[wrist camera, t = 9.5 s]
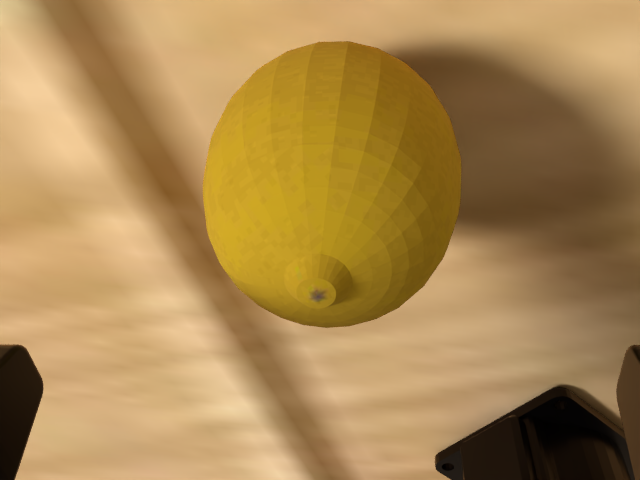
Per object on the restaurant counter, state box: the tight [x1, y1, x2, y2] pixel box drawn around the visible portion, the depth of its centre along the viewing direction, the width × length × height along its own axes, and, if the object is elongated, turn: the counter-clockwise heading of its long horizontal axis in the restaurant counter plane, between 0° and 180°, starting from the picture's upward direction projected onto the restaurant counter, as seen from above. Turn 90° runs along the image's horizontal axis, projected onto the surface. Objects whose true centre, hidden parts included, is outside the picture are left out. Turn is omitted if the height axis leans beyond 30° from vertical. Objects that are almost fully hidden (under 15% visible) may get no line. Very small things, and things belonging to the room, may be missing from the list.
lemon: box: [203, 41, 461, 328], centre depth 13 cm, size 6×6×8 cm
